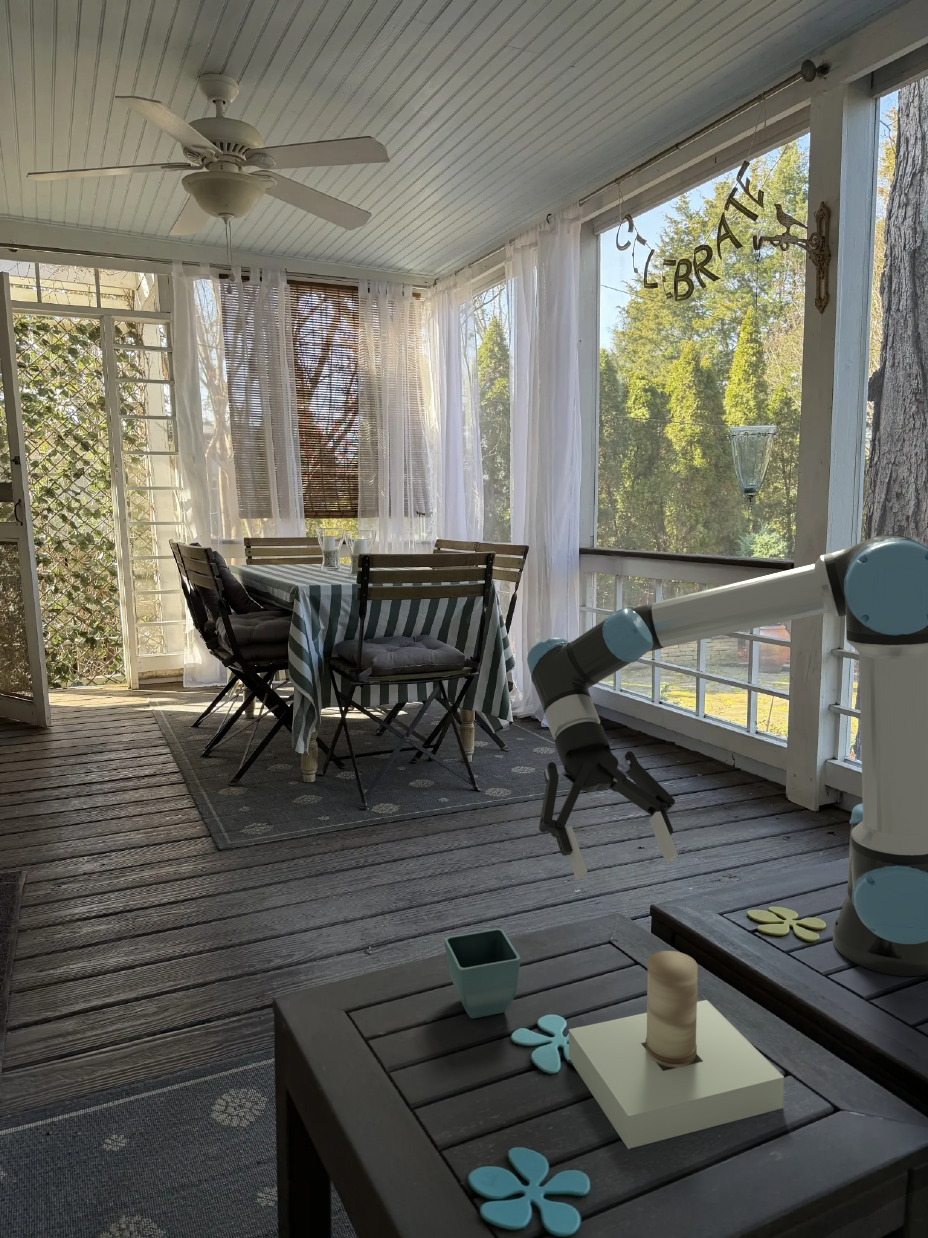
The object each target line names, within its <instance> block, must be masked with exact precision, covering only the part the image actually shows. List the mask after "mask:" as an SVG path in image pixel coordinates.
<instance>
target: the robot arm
mask: <svg viewBox="0 0 928 1238" xmlns="http://www.w3.org/2000/svg"><path fill="white" fill-rule="evenodd" d="M826 613H827V614H830V615H832V616H834V617H836V618H840V617H844V616H845V629H846V630H845V631H846V642H847V643H848V644H849V645H850V646H852V647H853V648H854V649H855V650H856V651H857V653H858V663H859V665H858V667H859V701H860V702H859V705H860V706H859V711H860V746H861V748H860V749H861V750H860V751H861V753H860V754H861V756H860V757H861V782H862V783H861V786H862V787H861V790H862V792H861V793H862V795H861V797H862V799H861V800H862V802H861V803H859V804H857V805H855V806H854V807H852V808H853V809H851V816H850V820H849V824H850V831H849V832H850V834H849V852H848V853H849V854H848V873H847V892H846V893H847V894H846V898H845V899H844V902H843V904H842V907H841V909H840V911H839V915H838V917H837V919H836V920H835V921H834V924H833V929H832V943H833V945H834V948H835V949H836V950H837V951H838V953H840V954H841V956H843V957H845V959H847V960H849V961H851V963H852V962H853V963H854V964H856V965H858V966H861V967H862V968H865V969H868V970H871V971H873V972H874V971H875V972H877V973H881V974H886V975H892V976H898V977H899V976H900V977H917V976H923V975H927V974H928V546H927V545H925V544H922V543H921V542H919V541H916V540H914V539H913V538H909V537H907V536H903V535H899V534H881V535H878V536H874V537H871V538H869V539H866V540H863V541H861V542H859V543H857V544H854V545H851V546H848V547H845V548H843V549H839V550H836V551H832V552H829V553H825V554H822V555H820V556H819V557H818V558H817V560H816V561H815V563H812V564H808V565H803V566H800V567H796V568H791V569H788V570H784V571H779V572H775V573H771V574H767V575H763V576H759V577H754V578H750V579H745V580H743V581H737V582H733V583H728V584H725V585H721V586H717V587H713V588H710V589H705V590H701V591H698V592H697V591H696V592H694V593H689V594H685V595H681V596H676V597H673V598H669V599H664V600H660V601H656V602H653V603H649V604H644V605H641V606H628V607H624V608H621V609H619V610H617V611H616V612H614V613H611V615H610V616H607V617H606V618H605V619H604V620H602V621H600V622H599V623H598V624H596V625H594V626H593V627H592V628H590V629H588V630H587V631H586V632H584V633H583V634H582V635H580V636H578V637H577V638H575V639H574V640H571V641H570V642H569V641H568V640H566V639H565V638H562V637H550V638H548V639H547V640H545V641H544V640H541V641H540V642H538V643H536V644H535V645H533V647H531V649H529V652H528V654H527V657H526V662H527V667H528V669H529V673H530V678H531V682H532V684H533V685H534V688H535V691H536V693H537V696H538V698H539V702H540V704H541V707H542V709H543V714H544V715H545V719H546V722H547V725H548V728H549V731H550V733H551V736H552V738H553V740H554V745H555V748H556V751H557V754H558V757H559V759H560V761H561V763H562V764H559V765H556V763H555V762H554V761H553V762H552V761H550V762H548V765H547V766H546V768H545V770H544V772H543V777H544V782H545V790H544V795H543V801H542V808H541V813H540V819H539V825H538V830H539V831H540V833H543V834H545V833H546V832H547V833H550V835H551V836H552V837H553V838H555V839H556V842H557V845H558V848H559V851H560V854H561V855H562V856H563V857H566V856H567V857H568V860H569V863H570V865H571V869H572V871H573V874H574V877H575V880H576V881H581V880H582V879H583V878H584V877H585V876H586V874H587V873H588V869H587V867H586V864H585V859H584V858H583V854H582V852H581V849H580V847H579V843H578V840H577V837H576V834H575V831H574V829H573V826H572V825H570V826H566V824H567V823H568V820H569V818H570V816H571V813H572V811H573V809H574V807H575V804H576V802H577V800H578V797H579V795H580V793H581V791H583V792H585V793H587V794H588V793H593V792H594V791H606V790H607V789H609V790H611V791H613V792H615V793H619V794H620V795H622V796H623V797H625V798H626V799H627V800H629V801H630V802H632V803H633V804H634V805H636V806H637V807H638V808H640V809H641V810H643V811H644V812H645V813H647V814H648V815H650V816H651V817H650V819H648V821H649V824H650V827H651V829H652V831H653V835H654V836H655V839H656V841H657V844H658V847H659V849H660V852H661V854H662V857H663V859H664V862H665V864H671V863H672V862H673V861H674V860H675V859H676V858H677V857H678V856H679V853H678V851H677V849H676V846H675V844H674V843H675V842H673V839H672V835H673V834H674V828H673V826H672V823H671V821H670V819H669V816H668V813H667V812H669V811H670V810H671V808H673V806H674V805H675V803H676V799H675V798H673V796H672V795H671V794H670V793H669V791H667V790H666V789H665V788H664V787H663V786H662V785H661V784H660V783H659V782H658V781H657V780H656V779H655V778H654V777H653V776H652V775H651V774H650V773H649V772H648V771H647V770H646V769H645V768H644V767H643V766H642V765H641V764H640V763H639V760H638V759H637V757H636V756H635V754H634V752H633V751H626V753H625V754H623V755H620V756H617V757H616V756H615V755H614V754H613V753H612V750H611V746H610V742H609V740H608V738H607V734H606V733H605V730H604V726H603V725H602V724H601V719H600V717H599V714H598V711H597V709H596V707H595V704H594V701H593V699H592V697H591V694H590V691H589V690H590V689H589V688H591V687H592V686H595V685H596V684H598V683H600V682H601V681H603V680H604V679H606V678H607V677H610V676H611V675H613V674H614V673H616V672H618V671H620V670H622V669H624V668H626V666H628V665H630V664H631V663H634V662H637V661H638V660H639V659H640V658H642V657H643V656H644V655H645V654H647V653H648V652H653V651H657V650H661V649H665V648H668V647H674V646H678V645H682V644H687V643H692V642H697V641H701V640H705V639H710V638H716V637H719V636H725V635H730V634H733V633H739V632H743V631H748V630H752V629H757V628H761V627H767V626H771V625H775V624H781V623H785V622H789V621H794V620H798V619H803V618H807V617H812V616H817V615H822V614H826ZM618 767H619V768H621V771H620V770H619V769H618ZM624 772H625V773H626V774H625V773H624ZM627 775H628V777H629V778H630V779H631V780H630V779H629V778H627ZM562 776H564V777H565V778H566V779H567V780H568V781H569V782H571V783H572V784H571V787H570V788H569V791H568V794H567V795H566V798H565V800H564V803H563V805H562V807H561V809H560V811H559V814H558V816H557V819H553V818H554V817H553V816H554V810H555V805H556V800H557V799H556V798H557V792H558V786H559V781H560V779H562ZM615 780H616V781H615ZM632 781H633V782H632Z"/></svg>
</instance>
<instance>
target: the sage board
mask: <svg viewBox="0 0 928 1238" xmlns="http://www.w3.org/2000/svg"><path fill="white" fill-rule="evenodd" d="M741 1033H742V1032H741ZM741 1033H740V1031H739V1030H738V1029H737V1028H736V1027H734V1025H733V1024H731V1022H730V1021H729V1020H728V1019H727V1018H725V1016H724V1015H722V1013H721V1012H720V1011H719V1010H718V1009H717V1008H715V1007H714V1005H712V1003H711V1002H710V1001H708V1000H707V999H704V1000H699V1001H697V1019H696V1045H697V1053H696V1057H695V1060H694V1061H693V1062H692V1063H691V1064H690V1065H688V1066H685V1067H679V1068H674V1069H670V1070H666V1071H663V1070H662V1069H661V1068H660V1066H659V1065H658V1064H657V1063H656V1062H655V1061H654V1060H652V1059H651V1058H650V1057H649V1055H648V1053H647V1049H646V1037H647V1012H643V1013H639V1014H634V1015H630V1016H626V1017H620V1018H616V1019H611V1020H608V1021H602V1022H601V1021H600V1022H598V1023H592V1024H589V1025H587V1024H586V1025H583V1026H578V1027H574V1028H569V1029H568V1059H569V1058H570V1059H569V1061H570V1060H571V1061H572V1062H573V1064H572V1065H573V1067H574V1069H575V1070H576V1072H577V1074H578V1075H579V1076H580V1078H581V1079H582V1081H583V1082H584V1084H585V1086H586V1087H587V1088H588V1090H589V1092H590V1093H591V1095H592V1096H593V1098H594V1099H595V1101H596V1102H597V1104H598V1105H599V1107H600V1108H601V1110H602V1111H603V1113H604V1114H605V1116H606V1117H607V1119H608V1120H609V1122H610V1123H611V1126H612V1127H613V1128H614V1129H615V1131H616V1133H617V1134H618V1136H619V1137H620V1139H621V1140H622V1142H623V1143H624V1145H625V1146H626V1149H627V1150H630V1149H633V1148H636V1147H637V1148H638V1147H641V1146H645V1145H649V1144H652V1143H656V1142H660V1141H664V1140H669V1139H671V1138H676V1137H679V1136H683V1135H686V1134H690V1133H694V1132H698V1131H702V1130H706V1129H709V1128H713V1127H716V1126H721V1125H724V1124H728V1123H733V1122H736V1121H740V1120H744V1119H747V1118H751V1117H754V1116H758V1115H759V1116H760V1115H762V1114H766V1113H771V1112H774V1111H778V1110H782V1109H784V1089H785V1087H784V1086H785V1085H784V1084H785V1076H784V1075H783V1074H782V1073H781V1072H780V1071H779V1070H778V1069H777V1068H776V1067H775V1066H774V1065H773V1064H772V1063H771V1062H770V1061H769V1060H768V1059H767V1058H766V1057H764V1055H763V1054H762V1053H761V1052H760V1051H759V1050H758V1049H756V1047H754V1045H752V1043H751V1042H750V1041H749V1040H748V1039H746V1037H744V1035H743V1034H741ZM571 1061H570V1062H571ZM572 1062H571V1063H572Z"/></svg>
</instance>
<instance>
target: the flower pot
mask: <svg viewBox="0 0 928 1238" xmlns="http://www.w3.org/2000/svg"><path fill="white" fill-rule="evenodd" d="M443 939H444V940H443V941H444V947H445V955H446V961H447V966H448V967H447V968H448V971H449V972H448V973H449V975H450V979H451V981H452V984H453V986H454V989H455V991H456V992H457V995H458V997H459V999H460V1002H461V1004H462V1006H463V1009H464V1010H465V1012H466V1014H467V1015H468V1017H469V1018H470V1019H478V1018H482V1017H483V1018H484V1017H488V1016H493V1015H497V1014H503V1013H505V1012H506V1011H507V1010H508V1009H509V1007H510V1006H511V1005H512V1002H513V1001H514V999H515V997H516V994H517V991H518V986H519V983H518V982H519V976H520V967H521V956H520V954H519V953H518V951H517V950H516V948H515V947H514V946H513V944H512V942H511V941H510V939H509V937H508V936H507V934H506V932H505V931H504V930H503V929H502V928H492V929H487V930H482V931H477V932H475V931H474V932H470V933H464V934H459V935H458V934H457V935H451V936H447V937H444V938H443Z"/></svg>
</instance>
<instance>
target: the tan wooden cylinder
mask: <svg viewBox="0 0 928 1238" xmlns="http://www.w3.org/2000/svg"><path fill="white" fill-rule="evenodd" d="M698 970H699V965H698V963H697V962H696V960H695V959H694V958H693V957H691V956H690V955H688V954H686V953H683V952H680V951H676V950H675V951H674V950H661V951H657V952H654V953H653V954H651V955H650V956H649V957H648V959H647V981H646V982H647V983H646V984H647V986H646V987H647V992H646V993H647V995H646V997H647V999H646V1013H647V1037H646V1049H647V1053H648V1055H649V1057H650V1058H651V1059H652V1060H654V1061H655V1062H656V1063H657V1064H658V1065H659V1066H660V1068H661V1069H662V1070H663V1071H666V1070H670V1069H674V1068H679V1067H685V1066H688V1065H690V1064H691V1063H692V1062H693V1061H694V1060H695V1057H696V1053H697V1045H696V1019H697V1002H698V977H699V976H698V973H699V972H698Z"/></svg>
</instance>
